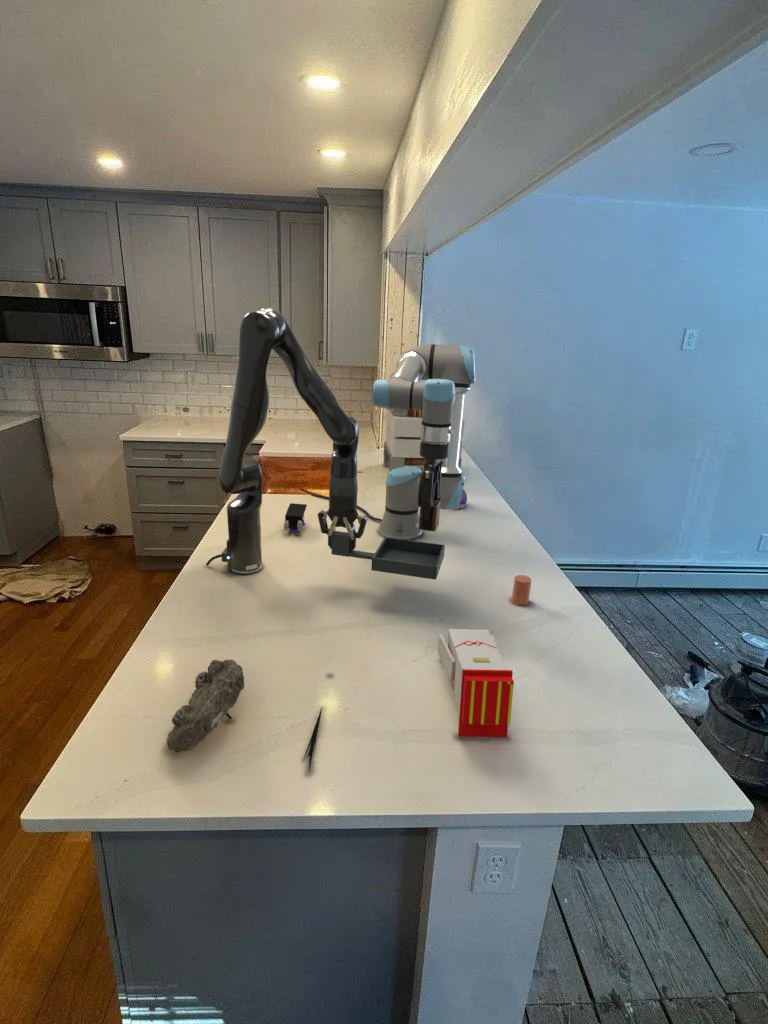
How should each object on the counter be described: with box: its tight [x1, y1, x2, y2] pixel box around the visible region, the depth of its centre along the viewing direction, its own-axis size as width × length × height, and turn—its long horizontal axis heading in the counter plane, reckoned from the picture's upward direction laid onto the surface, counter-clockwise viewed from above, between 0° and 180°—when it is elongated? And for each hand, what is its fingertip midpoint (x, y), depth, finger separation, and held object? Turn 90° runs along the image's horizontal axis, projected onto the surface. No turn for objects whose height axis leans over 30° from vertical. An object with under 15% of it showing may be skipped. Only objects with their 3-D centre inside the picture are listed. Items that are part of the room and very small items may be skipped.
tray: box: [331, 530, 446, 581], centre depth 154 cm, size 30×15×6 cm, turn 77°
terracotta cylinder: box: [511, 574, 533, 606], centre depth 156 cm, size 5×5×7 cm
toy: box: [437, 628, 515, 738], centre depth 117 cm, size 12×13×30 cm
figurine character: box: [283, 502, 308, 536], centre depth 198 cm, size 7×8×15 cm
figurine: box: [456, 469, 468, 510], centre depth 228 cm, size 9×10×15 cm
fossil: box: [166, 658, 245, 754], centre depth 106 cm, size 22×10×15 cm
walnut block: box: [419, 501, 441, 533], centre depth 151 cm, size 4×4×7 cm
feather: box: [301, 673, 332, 771], centre depth 108 cm, size 2×28×2 cm
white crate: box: [383, 409, 465, 472], centre depth 268 cm, size 34×33×41 cm
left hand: (341, 548), depth 157 cm, fingers closed on tray, 5 cm apart
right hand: (428, 526), depth 152 cm, fingers closed on walnut block, 4 cm apart
